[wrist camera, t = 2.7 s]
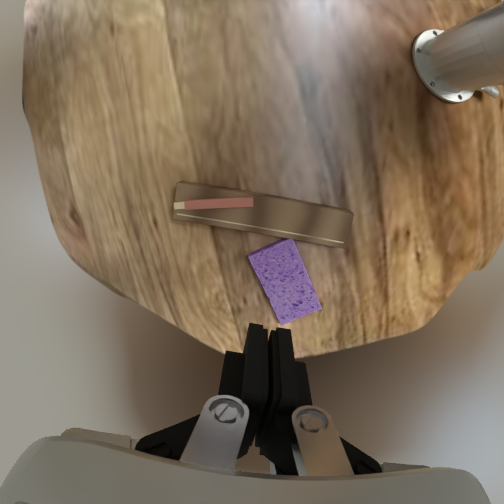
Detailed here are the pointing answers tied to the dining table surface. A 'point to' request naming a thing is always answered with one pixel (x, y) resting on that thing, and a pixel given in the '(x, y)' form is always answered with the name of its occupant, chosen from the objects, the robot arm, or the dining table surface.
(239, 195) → the walnut board
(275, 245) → the sponges
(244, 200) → the carpenters pencil
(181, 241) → the dining table surface
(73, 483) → the robot arm
